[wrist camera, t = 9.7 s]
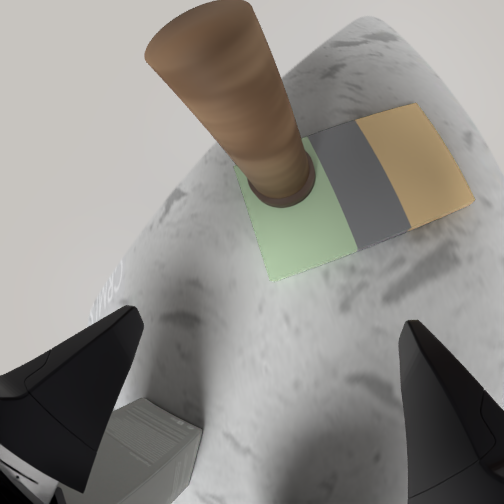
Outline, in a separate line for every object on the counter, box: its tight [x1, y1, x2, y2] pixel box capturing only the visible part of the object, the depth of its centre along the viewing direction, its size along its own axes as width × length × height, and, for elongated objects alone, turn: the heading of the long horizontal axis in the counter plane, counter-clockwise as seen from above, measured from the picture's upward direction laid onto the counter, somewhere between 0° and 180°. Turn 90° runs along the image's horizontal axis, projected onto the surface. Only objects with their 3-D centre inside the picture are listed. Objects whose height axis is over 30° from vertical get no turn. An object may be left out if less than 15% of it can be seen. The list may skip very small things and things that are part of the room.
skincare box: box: [58, 398, 202, 504], centre depth 11 cm, size 8×7×16 cm
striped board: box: [233, 103, 475, 282], centre depth 18 cm, size 16×9×1 cm, turn 107°
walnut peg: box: [145, 0, 316, 208], centre depth 13 cm, size 5×5×13 cm
